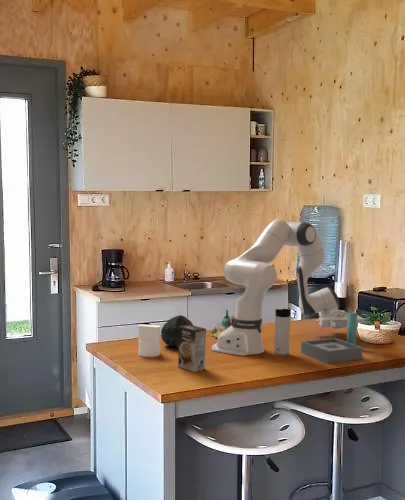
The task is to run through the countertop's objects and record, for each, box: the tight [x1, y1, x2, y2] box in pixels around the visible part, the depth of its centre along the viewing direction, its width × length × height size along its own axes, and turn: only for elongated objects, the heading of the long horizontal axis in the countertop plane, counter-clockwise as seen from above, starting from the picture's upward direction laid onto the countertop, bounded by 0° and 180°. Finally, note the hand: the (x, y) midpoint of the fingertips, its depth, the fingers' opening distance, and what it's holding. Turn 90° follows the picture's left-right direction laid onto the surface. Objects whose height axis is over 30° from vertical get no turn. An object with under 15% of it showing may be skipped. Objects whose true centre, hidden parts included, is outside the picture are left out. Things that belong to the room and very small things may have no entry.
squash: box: [160, 314, 194, 349], centre depth 278 cm, size 14×15×15 cm
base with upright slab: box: [138, 323, 161, 358], centre depth 265 cm, size 9×9×12 cm
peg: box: [346, 311, 358, 345], centre depth 280 cm, size 4×4×16 cm
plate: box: [313, 342, 349, 351], centre depth 268 cm, size 12×12×3 cm
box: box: [300, 337, 364, 365], centre depth 268 cm, size 18×18×5 cm
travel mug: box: [273, 308, 291, 357], centre depth 268 cm, size 6×7×20 cm
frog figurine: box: [210, 309, 234, 339], centre depth 294 cm, size 10×18×15 cm, turn 33°
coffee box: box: [177, 324, 207, 373], centre depth 245 cm, size 9×6×16 cm
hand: (346, 325), depth 285 cm, fingers open, 8 cm apart
